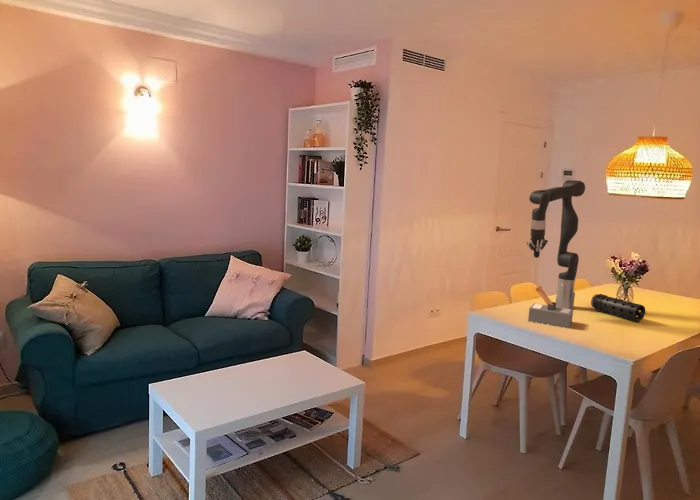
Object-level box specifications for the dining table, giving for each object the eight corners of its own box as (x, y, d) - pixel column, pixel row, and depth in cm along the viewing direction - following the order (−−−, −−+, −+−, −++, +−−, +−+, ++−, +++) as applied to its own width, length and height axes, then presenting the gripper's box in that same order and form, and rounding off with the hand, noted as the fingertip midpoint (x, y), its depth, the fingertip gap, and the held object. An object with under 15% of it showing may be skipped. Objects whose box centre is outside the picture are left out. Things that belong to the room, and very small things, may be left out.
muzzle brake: (633, 323, 281) (635, 305, 279) (588, 310, 305) (590, 293, 304) (644, 322, 285) (646, 303, 284) (599, 309, 310) (601, 292, 308)
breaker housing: (528, 321, 275) (529, 302, 273) (533, 315, 287) (534, 298, 285) (568, 328, 265) (570, 309, 264) (571, 322, 277) (573, 304, 276)
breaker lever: (550, 310, 273) (534, 288, 276) (551, 308, 277) (536, 287, 280) (554, 307, 272) (538, 286, 274) (555, 305, 276) (540, 284, 279)
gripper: (532, 230, 281) (531, 260, 286) (552, 227, 285) (550, 257, 290) (523, 227, 288) (522, 257, 293) (543, 224, 292) (541, 253, 297)
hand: (536, 257), depth 292 cm, fingers closed
